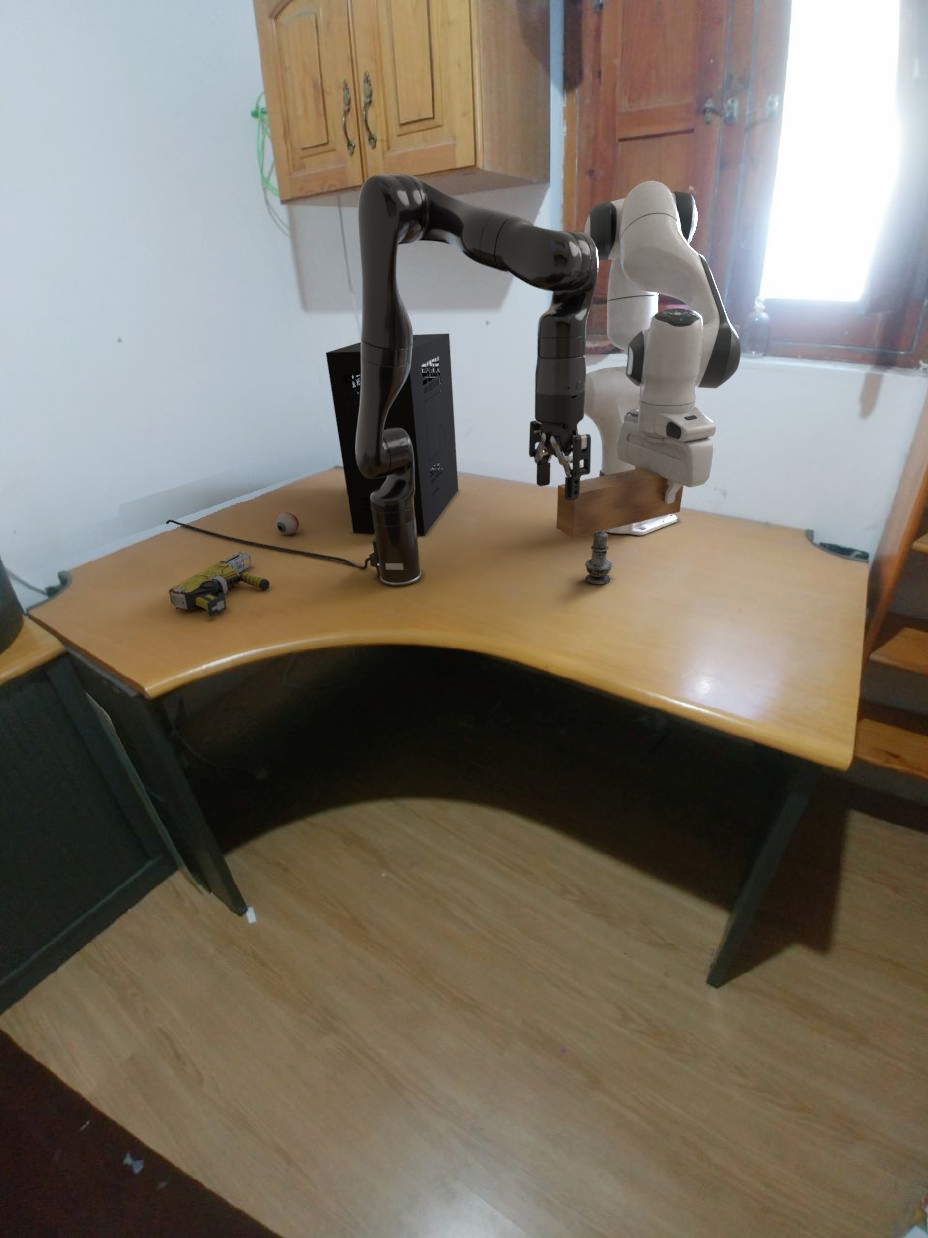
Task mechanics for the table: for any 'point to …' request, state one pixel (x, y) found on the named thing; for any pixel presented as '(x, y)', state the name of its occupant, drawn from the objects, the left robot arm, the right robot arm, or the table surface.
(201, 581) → the toy gun
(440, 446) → the cardboard box
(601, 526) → the bar
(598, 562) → the dark grey chess piece
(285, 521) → the eyeball
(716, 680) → the table surface
